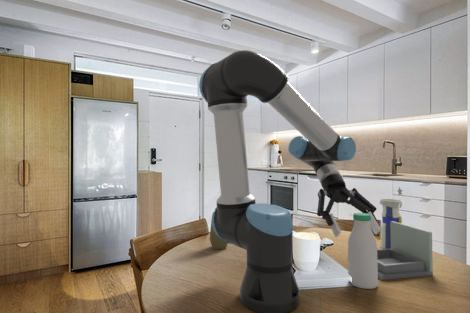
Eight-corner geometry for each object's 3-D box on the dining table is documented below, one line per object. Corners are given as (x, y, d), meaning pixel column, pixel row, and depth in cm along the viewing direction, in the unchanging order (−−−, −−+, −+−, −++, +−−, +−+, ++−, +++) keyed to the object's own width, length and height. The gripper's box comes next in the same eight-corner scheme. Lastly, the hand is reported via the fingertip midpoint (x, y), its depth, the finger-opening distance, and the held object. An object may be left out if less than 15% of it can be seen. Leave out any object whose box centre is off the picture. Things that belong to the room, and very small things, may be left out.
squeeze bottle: (233, 246, 113) (232, 203, 113) (221, 252, 106) (221, 205, 107) (217, 243, 117) (217, 201, 118) (205, 248, 110) (205, 204, 111)
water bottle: (405, 247, 112) (404, 186, 112) (401, 252, 105) (400, 187, 106) (382, 243, 117) (382, 185, 118) (378, 248, 110) (377, 186, 111)
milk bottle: (381, 291, 74) (380, 216, 74) (351, 288, 75) (350, 215, 76) (373, 279, 81) (372, 211, 82) (345, 277, 83) (345, 211, 83)
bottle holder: (381, 280, 81) (380, 235, 81) (349, 260, 96) (348, 223, 97) (432, 275, 84) (432, 232, 84) (393, 257, 100) (392, 221, 100)
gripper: (357, 185, 102) (387, 237, 87) (295, 187, 97) (316, 242, 82) (366, 172, 97) (400, 224, 82) (301, 173, 92) (325, 228, 77)
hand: (358, 233), depth 82 cm, fingers open, 13 cm apart
